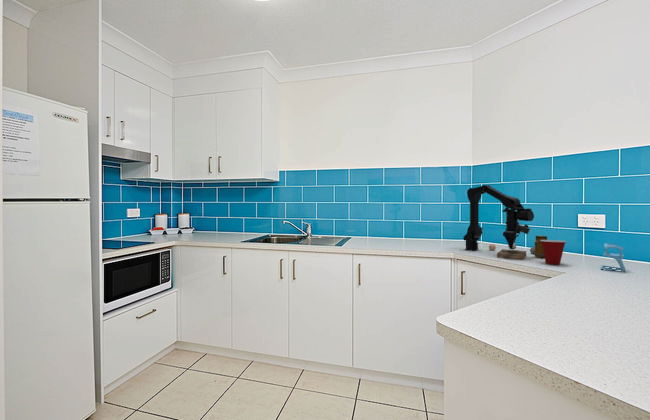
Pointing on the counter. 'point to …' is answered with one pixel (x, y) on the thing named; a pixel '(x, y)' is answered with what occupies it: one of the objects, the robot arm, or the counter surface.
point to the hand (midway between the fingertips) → (511, 247)
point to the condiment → (539, 247)
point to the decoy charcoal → (532, 250)
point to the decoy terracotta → (492, 247)
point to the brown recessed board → (511, 254)
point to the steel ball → (513, 246)
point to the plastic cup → (553, 251)
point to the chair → (616, 256)
